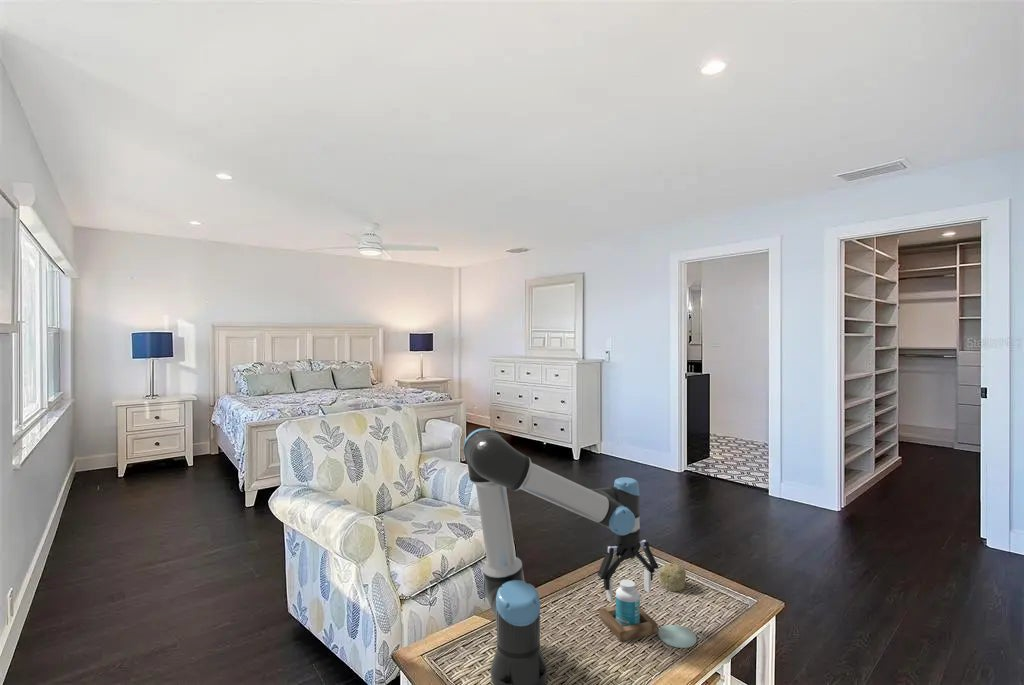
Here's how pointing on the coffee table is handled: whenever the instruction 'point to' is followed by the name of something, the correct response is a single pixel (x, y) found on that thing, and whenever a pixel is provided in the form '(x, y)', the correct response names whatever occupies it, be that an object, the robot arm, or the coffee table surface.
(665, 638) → the coaster
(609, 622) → the walnut frame
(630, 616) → the pill bottle
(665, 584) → the decorative object
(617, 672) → the coffee table surface
